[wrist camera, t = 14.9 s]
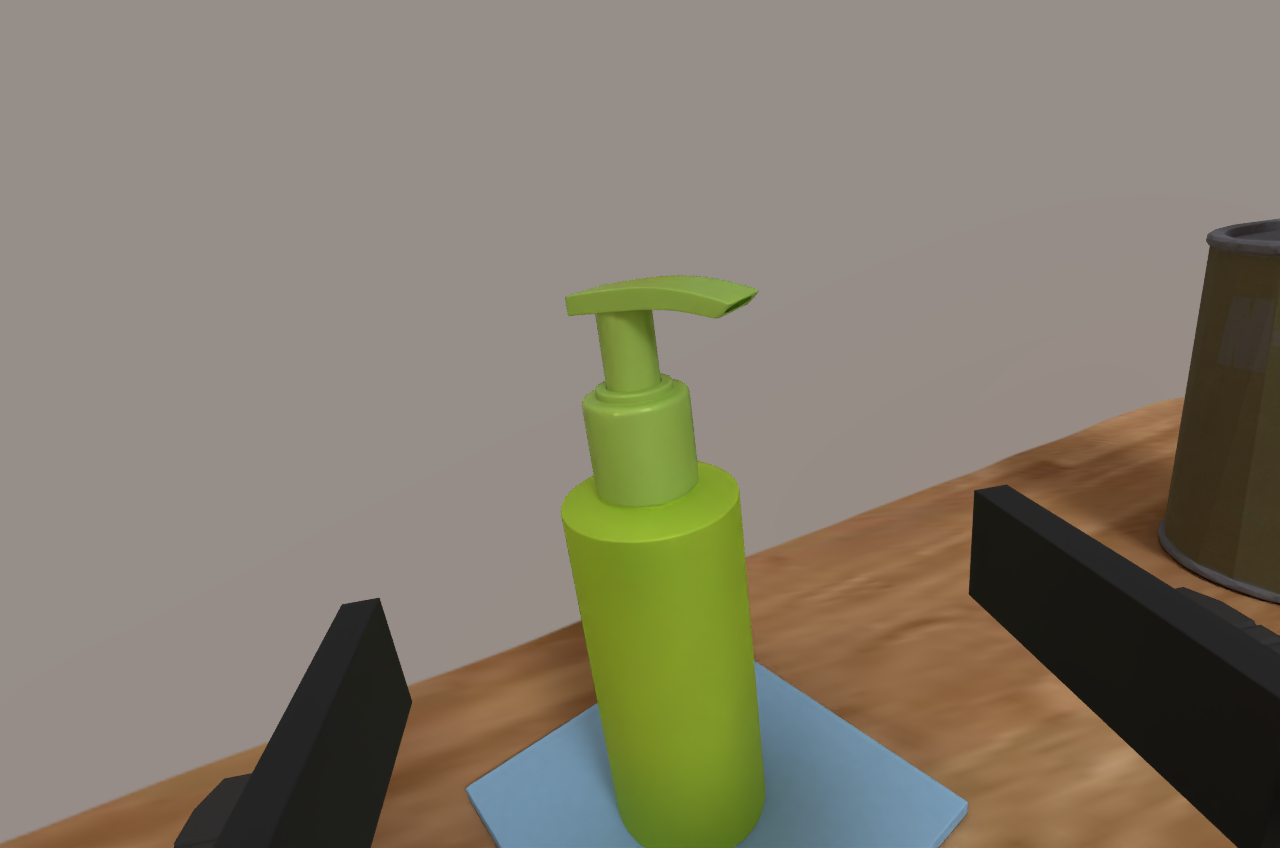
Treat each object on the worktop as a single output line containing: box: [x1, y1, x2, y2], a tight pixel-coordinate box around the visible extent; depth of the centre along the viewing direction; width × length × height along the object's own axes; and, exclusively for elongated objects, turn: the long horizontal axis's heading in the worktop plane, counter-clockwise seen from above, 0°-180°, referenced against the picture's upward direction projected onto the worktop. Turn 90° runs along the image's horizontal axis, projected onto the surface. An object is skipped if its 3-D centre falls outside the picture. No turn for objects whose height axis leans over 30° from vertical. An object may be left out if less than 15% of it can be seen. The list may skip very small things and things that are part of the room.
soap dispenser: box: [561, 276, 765, 848], centre depth 22 cm, size 6×7×20 cm
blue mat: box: [466, 661, 968, 848], centre depth 25 cm, size 14×14×1 cm
